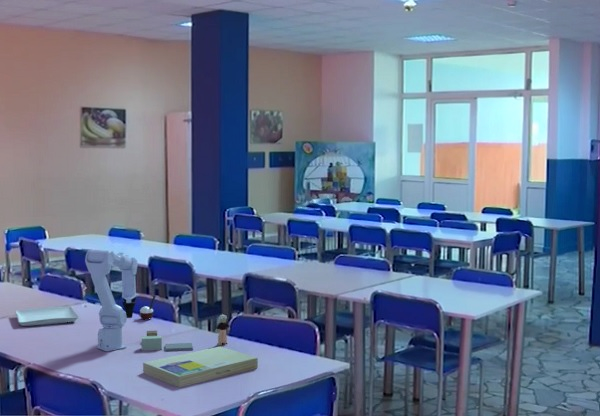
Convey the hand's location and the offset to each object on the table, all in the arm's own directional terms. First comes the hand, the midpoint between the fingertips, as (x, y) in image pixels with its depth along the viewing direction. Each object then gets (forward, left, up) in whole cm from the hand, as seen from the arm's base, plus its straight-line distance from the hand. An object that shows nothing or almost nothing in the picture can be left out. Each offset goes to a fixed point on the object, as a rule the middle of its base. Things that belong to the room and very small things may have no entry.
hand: (129, 315), depth 324 cm
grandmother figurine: (+26, -33, -11) cm, 43 cm away
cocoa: (+27, +30, -11) cm, 41 cm away
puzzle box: (-4, -59, -11) cm, 60 cm away
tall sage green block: (-2, -20, -11) cm, 23 cm away
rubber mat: (+8, -27, -10) cm, 30 cm away
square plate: (-10, +61, -11) cm, 63 cm away
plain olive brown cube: (+5, -10, -11) cm, 15 cm away
